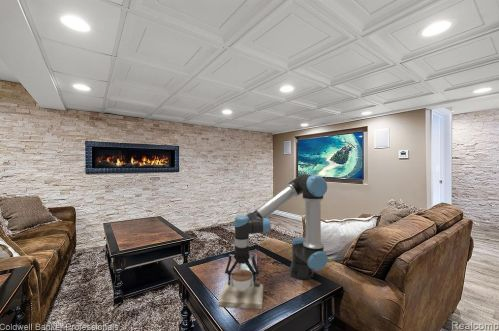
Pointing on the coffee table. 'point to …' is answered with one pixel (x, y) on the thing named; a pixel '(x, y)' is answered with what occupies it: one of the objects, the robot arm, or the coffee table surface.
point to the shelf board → (242, 296)
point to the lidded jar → (242, 279)
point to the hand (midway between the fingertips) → (242, 286)
